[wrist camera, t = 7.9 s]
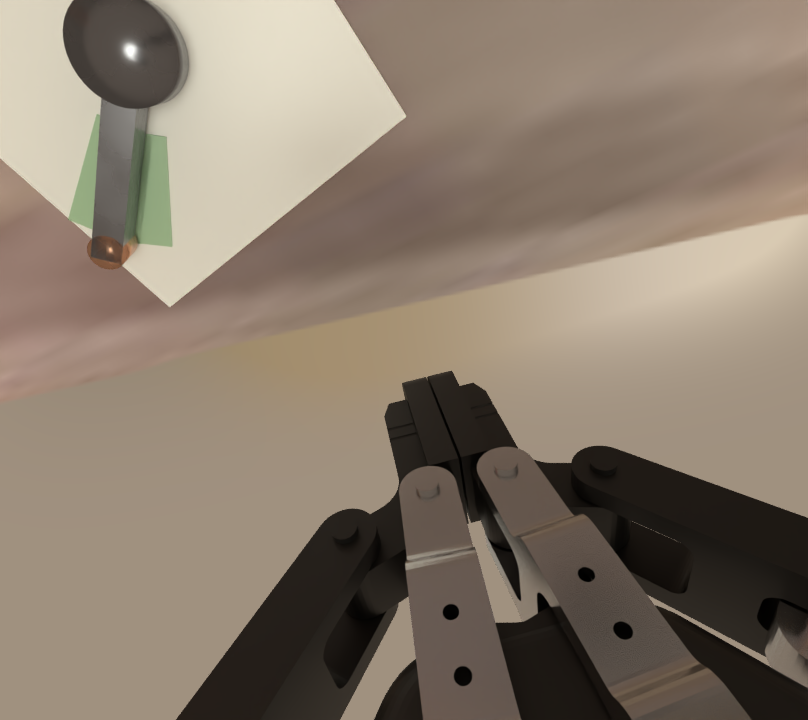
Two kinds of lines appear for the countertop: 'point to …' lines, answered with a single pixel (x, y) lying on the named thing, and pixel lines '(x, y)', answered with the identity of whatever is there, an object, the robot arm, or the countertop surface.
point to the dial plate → (198, 125)
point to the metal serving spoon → (122, 104)
